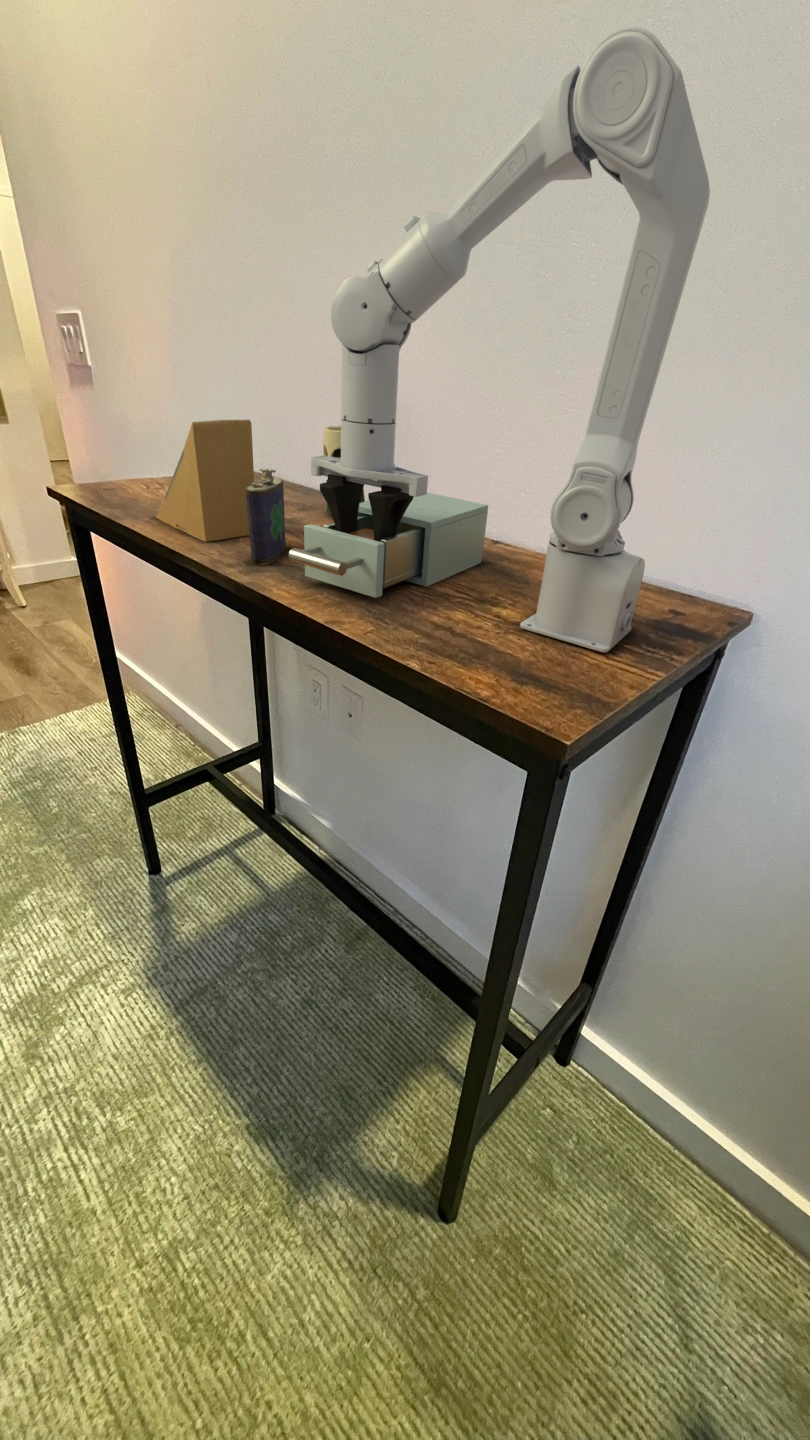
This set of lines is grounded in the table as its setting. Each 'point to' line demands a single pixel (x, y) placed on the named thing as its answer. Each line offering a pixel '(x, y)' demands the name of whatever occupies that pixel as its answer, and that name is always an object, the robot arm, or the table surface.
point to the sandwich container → (212, 481)
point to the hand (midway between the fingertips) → (364, 550)
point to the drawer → (361, 556)
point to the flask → (266, 518)
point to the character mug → (334, 447)
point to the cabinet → (444, 534)
